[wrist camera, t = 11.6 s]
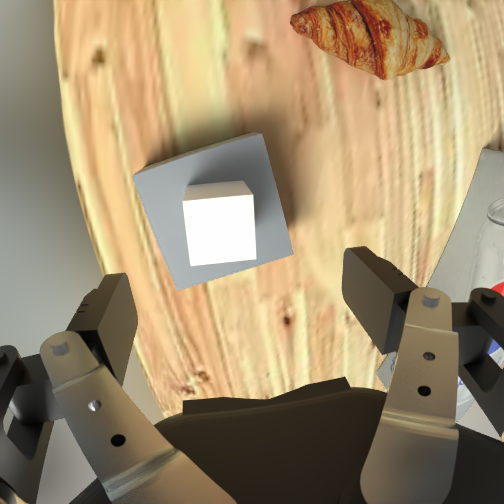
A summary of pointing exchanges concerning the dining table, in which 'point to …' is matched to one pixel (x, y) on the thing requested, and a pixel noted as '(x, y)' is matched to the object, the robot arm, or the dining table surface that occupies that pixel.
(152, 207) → the grey box
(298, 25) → the croissant
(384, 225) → the dining table surface
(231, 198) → the white block
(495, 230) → the soda pack
